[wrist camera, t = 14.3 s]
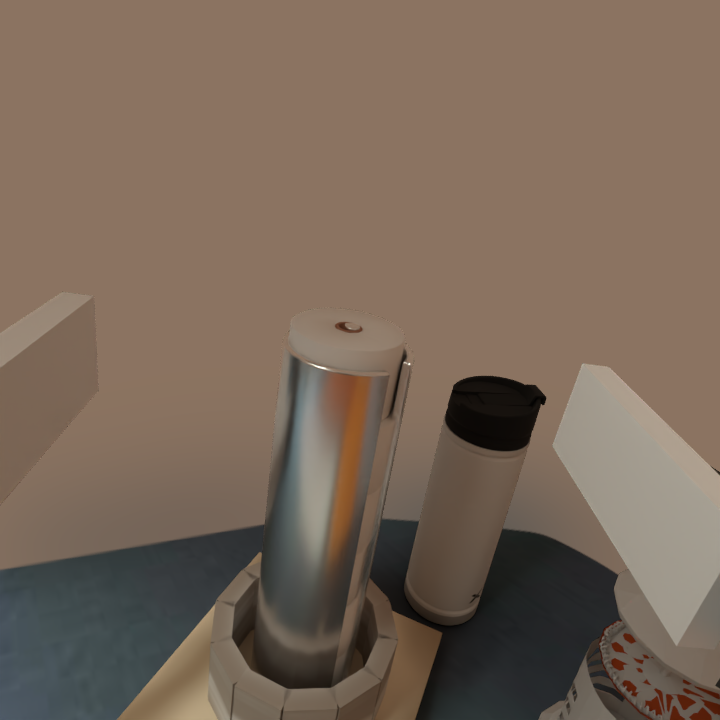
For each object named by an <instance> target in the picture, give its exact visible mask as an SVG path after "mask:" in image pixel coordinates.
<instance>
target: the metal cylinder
mask: <svg viewBox="0 0 720 720" xmlns="http://www.w3.org/2000/svg"><path fill="white" fill-rule="evenodd" d="M413 364H414V355H413V351H412V350H411V349H410V347H409V346H408V345H407V344H406V343H405V334H404V333H403V331H402V329H401V328H400V327H399V326H397V325H395V324H394V323H392V322H390V321H388V320H386V319H384V318H382V317H379V316H376V315H373V314H370V313H365V312H362V311H357V310H350V309H342V308H317V309H310V310H306V311H303V312H301V313H299V314H297V315H295V316H293V318H292V320H291V325H290V330H289V331H288V332H287V333H286V334H285V337H284V339H283V342H282V353H281V363H280V374H279V383H278V393H277V403H276V415H275V424H274V434H273V446H272V456H271V465H270V476H269V487H268V497H267V506H266V517H265V527H264V537H263V547H262V558H261V568H260V578H259V588H258V599H257V609H256V619H255V630H254V640H253V650H252V660H251V670H252V671H254V672H256V673H258V674H259V675H261V676H263V677H265V678H267V679H269V680H271V681H273V682H275V683H277V684H279V685H281V686H283V687H285V688H287V689H312V688H332V687H333V686H335V685H337V684H338V683H340V682H341V681H343V680H345V679H346V678H348V677H349V675H350V670H351V665H352V660H353V655H354V651H355V646H356V641H357V636H358V631H359V626H360V621H361V617H362V612H363V607H364V602H365V597H366V592H367V587H368V582H369V578H370V573H371V568H372V563H373V558H374V553H375V548H376V544H377V539H378V534H379V529H380V524H381V519H382V514H383V510H384V505H385V500H386V495H387V490H388V485H389V480H390V475H391V471H392V466H393V461H394V456H395V451H396V446H397V441H398V436H399V432H400V427H401V422H402V417H403V412H404V407H405V403H406V398H407V393H408V388H409V383H410V378H411V373H412V368H413Z"/></svg>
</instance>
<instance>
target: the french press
mask: <svg viewBox="0 0 720 720" xmlns="http://www.w3.org/2000/svg"><path fill="white" fill-rule="evenodd" d="M614 593H615V598H616V603H617V607H618V612H619V615H620V618H621V619H622V620H619V621H616V622H614V623H613V624H611V625H609V626H608V627H606V628H604V630H603V633H602V635H601V636H600V637H599V638H597V639H596V640H594V641H593V642H592V643H591V645H590V647H589V649H588V651H587V653H586V655H585V658H584V660H583V662H582V664H581V666H580V668H579V671H578V673H577V675H576V677H575V679H574V681H573V683H574V684H572V687H571V689H570V691H569V692H568V695H567V697H566V699H565V701H559V702H557V703H556V704H554V705H553V706H551V707H550V708H548V709H546V710H545V711H543V712H542V713H541V715H540V717H539V719H538V720H720V689H719V688H718V687H716V686H715V685H716V683H717V682H718V680H719V678H720V641H719V643H718V644H717V646H716V648H715V649H714V650H713V649H702V648H690V647H679V646H676V645H675V643H674V642H673V640H672V638H671V637H670V635H669V633H668V632H667V630H666V629H665V627H664V625H663V624H662V622H661V621H660V619H659V617H658V616H657V614H656V612H655V611H654V609H653V608H652V606H651V604H650V603H649V601H648V600H647V598H646V596H645V595H644V593H643V592H642V590H641V588H640V587H639V585H638V583H637V582H636V580H635V579H634V577H633V575H632V574H631V572H630V571H629V569H627V570H625V571H623V572H621V573H619V576H618V578H617V581H616V584H615V587H614ZM597 647H599V649H600V652H599V653H596V654H595V655H593V656H592V657H591V658H590V659H589V660H588V661H586V660H587V659H588V658H589V657H590V655H591V654H592V653H593V652H594V651H595V650H596V648H597ZM599 659H602V664H599V665H594V666H590V667H589V668H588V667H587V665H588V664H589V663H590V662H591V661H595V660H599ZM601 670H605V671H606V673H607V675H608V676H609V678H610V679H608V678H605V677H602V676H596V677H591V678H590V676H589V673H593V672H597V671H601ZM593 683H599V684H602V685H605V686H608V687H611V688H614V689H615V690H616V691H618V692H619V693H620V694H621V695H622V696H623V697H624V698H625V699H624V701H623V702H622V701H620V700H619V699H617V698H616V697H615V696H613V695H612V694H610V693H607V692H605V691H602V690H599V689H596V688H594V687H593ZM574 687H575V688H574ZM573 688H574V690H573V691H571V690H572V689H573ZM575 691H576V692H577V693H576V694H575V695H574V696H573V693H574V692H575ZM567 700H569V701H567Z"/></svg>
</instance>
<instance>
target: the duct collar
mask: <svg viewBox="0 0 720 720" xmlns="http://www.w3.org/2000/svg"><path fill="white" fill-rule="evenodd" d="M261 558H262V553H260V552H259V553H258V555H257V556H256V557H255V558H254V559H253V560H252V562H251V563H250V564H249V565H248V566H247V567H246V568H244V570H241V572H240V573H239V574H238V575H237V576H236V577H235V579H234V580H233V581H232V582H231V583H230V584H229V586H228V587H227V588H226V589H225V590H224V591H223V593H222V594H221V595H220V596H219V597H218V598H217V601H216V603H215V605H214V606H213V607H212V609H211V610H210V611H209V612H208V613H207V615H206V616H205V617H204V618H203V619H202V620H201V622H200V623H199V624H198V625H197V626H196V627H195V629H194V630H193V631H192V632H191V633H190V635H189V636H188V637H187V638H186V639H185V640H184V642H183V643H182V644H181V645H180V646H179V647H178V649H177V650H176V651H175V652H174V653H173V655H172V656H171V657H170V658H169V659H168V660H167V662H166V663H165V664H164V665H163V666H162V667H161V669H160V670H159V671H158V672H157V673H156V674H155V676H154V677H153V678H152V679H151V680H150V682H149V683H148V684H147V685H146V686H145V687H144V689H143V690H142V691H141V692H140V693H139V694H138V696H137V697H136V698H135V699H134V700H133V702H132V703H131V704H130V705H129V706H128V707H127V709H126V710H125V711H124V712H123V713H122V714H121V716H120V717H119V718H118V719H117V720H415V719H416V716H417V712H418V709H419V706H420V703H421V700H422V697H423V694H424V691H425V687H426V684H427V681H428V678H429V675H430V672H431V669H432V665H433V662H434V659H435V656H436V653H437V650H438V647H439V643H440V640H441V636H442V633H441V632H439V631H437V630H434V629H432V628H430V627H428V626H425V625H423V624H421V623H419V622H416V621H414V620H412V619H409V618H407V617H405V616H403V615H400V614H398V613H396V612H394V611H392V609H391V604H390V601H388V600H389V599H388V598H387V597H386V596H385V594H384V593H383V592H382V591H381V590H380V589H379V588H378V587H377V586H376V585H375V583H374V582H373V581H372V580H371V579H370V578H369V582H368V587H367V592H366V597H365V602H364V607H363V612H362V617H361V621H360V626H359V631H358V636H357V641H356V646H355V651H354V655H353V660H352V665H351V670H350V675H349V677H348V678H346V679H345V680H343V681H341V682H340V683H338V684H337V685H335V686H333V687H332V688H312V689H287V688H285V687H283V686H281V685H279V684H277V683H275V682H273V681H271V680H269V679H267V678H265V677H263V676H261V675H259V674H258V673H256V672H254V671H252V670H251V660H252V650H253V640H254V630H255V619H256V609H257V599H258V588H259V578H260V568H261Z"/></svg>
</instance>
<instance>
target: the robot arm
mask: <svg viewBox="0 0 720 720" xmlns="http://www.w3.org/2000/svg"><path fill="white" fill-rule="evenodd" d="M97 391H98V369H97V349H96V328H95V305H94V296H91V295H83V294H76V293H69V292H62V293H60V294H59V295H57V296H56V297H54V298H53V299H51V300H50V301H48V302H47V303H45V304H44V305H42V306H41V307H39V308H38V309H36V310H35V311H33V312H32V313H30V314H28V315H27V316H25V317H24V318H22V319H21V320H19V321H18V322H17V323H15V324H13V325H12V326H10V327H9V328H7V329H6V330H4V331H3V332H1V333H0V505H1V504H2V503H3V501H4V500H5V499H6V498H7V497H8V496H9V494H10V493H11V492H12V491H13V490H14V488H15V487H16V486H17V485H18V484H19V483H20V481H21V480H22V479H23V478H24V477H25V476H26V474H27V473H28V472H29V471H30V470H31V469H32V468H33V466H34V465H35V464H36V463H37V462H38V461H39V459H40V458H41V457H42V456H43V455H44V454H45V452H46V451H47V450H48V449H49V448H50V447H51V445H52V444H53V443H54V441H56V440H57V438H58V437H59V436H60V435H61V434H62V432H63V431H64V430H65V429H66V428H67V427H68V425H69V424H70V423H71V422H72V421H73V420H74V418H75V417H76V416H77V415H78V414H79V413H80V411H81V410H82V409H83V408H84V407H85V406H86V404H87V403H88V402H89V401H90V400H91V399H92V397H93V396H94V395H95V394H96V393H97ZM552 446H553V448H554V449H555V451H556V453H557V454H558V456H559V457H560V459H561V461H562V462H563V464H564V466H565V467H566V469H567V470H568V472H569V474H570V475H571V477H572V478H573V480H574V482H575V483H576V485H577V487H578V488H579V490H580V491H581V493H582V495H583V496H584V498H585V500H586V501H587V503H588V504H589V506H590V508H591V509H592V511H593V512H594V514H595V516H596V517H597V519H598V521H599V522H600V524H601V525H602V527H603V529H604V530H605V532H606V533H607V535H608V537H609V538H610V540H611V542H612V543H613V545H614V546H615V548H616V550H617V551H618V553H619V554H620V556H621V557H622V559H623V561H624V562H625V564H626V566H627V567H628V569H629V571H630V572H631V574H632V575H633V577H634V579H635V580H636V582H637V583H638V585H639V587H640V588H641V590H642V592H643V593H644V595H645V596H646V598H647V600H648V601H649V603H650V604H651V606H652V608H653V609H654V611H655V612H656V614H657V616H658V617H659V619H660V621H661V622H662V624H663V625H664V627H665V629H666V630H667V632H668V633H669V635H670V637H671V638H672V640H673V642H674V643H675V645H676V646H679V647H690V648H702V649H713V650H714V649H715V648H716V646H717V644H718V643H719V641H720V472H719V471H717V470H716V469H714V468H713V467H711V466H709V465H708V464H707V463H706V462H705V461H704V460H703V459H702V458H701V457H700V456H699V455H698V454H697V453H696V452H695V451H694V450H693V449H692V448H691V447H690V446H689V445H688V444H687V443H686V442H685V441H684V440H683V439H682V438H681V437H680V436H679V435H677V433H676V432H675V431H674V430H673V429H672V428H671V427H670V426H668V424H667V423H665V422H664V421H663V420H662V419H661V418H660V417H659V416H658V415H657V414H656V413H655V412H654V411H653V410H652V409H651V408H650V407H649V406H648V405H647V404H646V403H645V402H644V401H643V400H642V399H641V398H640V397H639V396H638V395H637V394H636V393H635V392H634V391H633V390H632V389H631V388H630V387H629V386H628V385H627V384H625V382H623V381H622V380H621V379H620V378H619V377H618V376H617V375H616V374H615V373H614V372H613V371H612V370H611V369H610V368H609V367H604V366H597V365H590V364H582V367H581V369H580V372H579V375H578V378H577V380H576V383H575V386H574V388H573V391H572V394H571V397H570V399H569V402H568V405H567V407H566V410H565V413H564V416H563V418H562V421H561V424H560V426H559V429H558V432H557V434H556V437H555V440H554V443H553V445H552ZM715 686H716V687H718V688H719V689H720V678H719V680H718V682H717V683H716V685H715Z"/></svg>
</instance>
